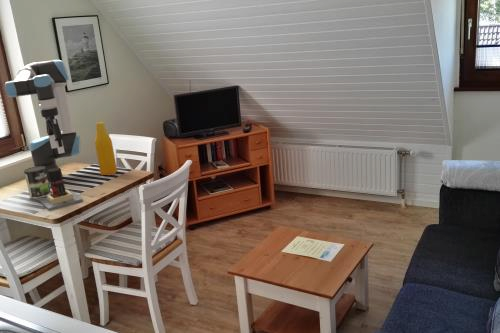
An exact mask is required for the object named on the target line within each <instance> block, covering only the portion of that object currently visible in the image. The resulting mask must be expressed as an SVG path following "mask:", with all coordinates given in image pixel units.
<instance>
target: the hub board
mask: <svg viewBox="0 0 500 333" xmlns="http://www.w3.org/2000/svg"><path fill="white" fill-rule="evenodd" d="M65 191H66V195H64V196H60V197H56V198H54V197H53V193H52V192H51V194H48V195H47V196H46V197H42V198H38V199H39V200H38V201H39V203H40V204H41V205H42V206H44V207H45V209H46V210H47V211H48V212H49V211H53V210H56V209H60V208H63V207H64V208H65V207H67V206H70V205H74V204H75V205H76V204H77V203H81V202H84V199H83V198H82V197H81V196H79V195H78V194H77V193H76V192H74V191H72V190H69V189H66V188H65Z"/></svg>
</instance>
